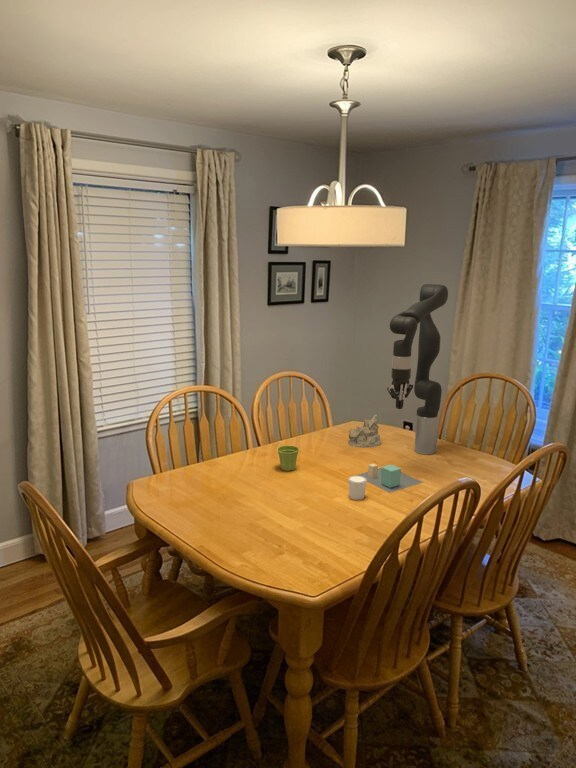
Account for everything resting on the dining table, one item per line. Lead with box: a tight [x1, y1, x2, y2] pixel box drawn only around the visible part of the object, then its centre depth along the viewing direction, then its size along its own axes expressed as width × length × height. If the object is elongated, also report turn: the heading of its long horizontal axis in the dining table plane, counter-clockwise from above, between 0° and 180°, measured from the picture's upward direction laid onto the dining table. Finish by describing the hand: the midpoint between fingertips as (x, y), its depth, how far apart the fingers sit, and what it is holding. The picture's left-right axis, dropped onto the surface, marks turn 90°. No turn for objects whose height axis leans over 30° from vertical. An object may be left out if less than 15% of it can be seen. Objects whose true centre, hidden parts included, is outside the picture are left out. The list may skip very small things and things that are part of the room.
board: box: [354, 463, 424, 494], centre depth 222 cm, size 18×20×6 cm
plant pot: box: [276, 444, 300, 472], centre depth 235 cm, size 9×9×9 cm
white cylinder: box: [347, 475, 368, 501], centre depth 208 cm, size 7×7×7 cm
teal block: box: [381, 464, 402, 488], centre depth 216 cm, size 5×5×7 cm
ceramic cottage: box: [347, 414, 382, 448], centre depth 267 cm, size 16×16×15 cm
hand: (399, 408), depth 227 cm, fingers closed
